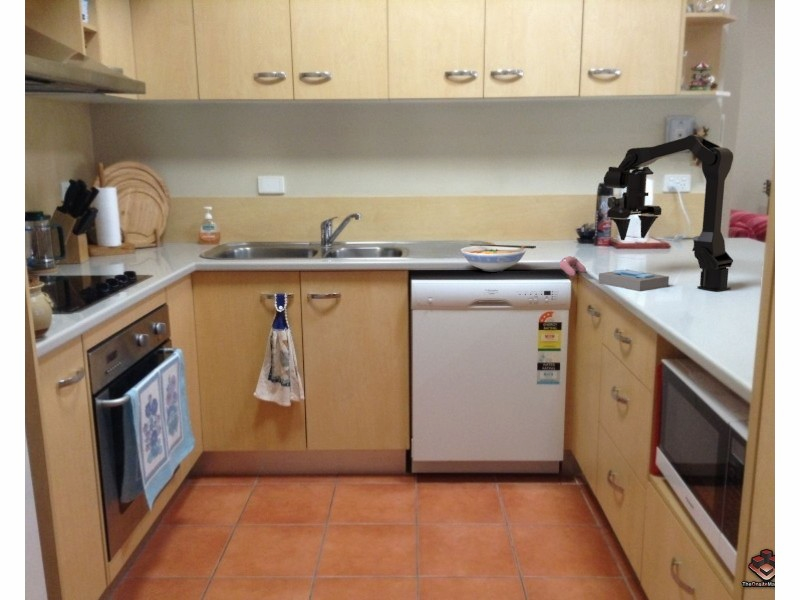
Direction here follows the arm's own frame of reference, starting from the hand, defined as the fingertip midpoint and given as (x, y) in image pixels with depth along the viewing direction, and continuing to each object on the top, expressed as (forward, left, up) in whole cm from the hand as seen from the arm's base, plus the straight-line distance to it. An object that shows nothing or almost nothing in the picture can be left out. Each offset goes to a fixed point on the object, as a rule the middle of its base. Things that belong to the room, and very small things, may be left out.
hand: (632, 239), depth 210 cm
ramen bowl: (+38, +26, -13) cm, 48 cm away
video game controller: (+16, +10, -13) cm, 23 cm away
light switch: (-9, +9, -12) cm, 18 cm away
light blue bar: (-9, +9, -12) cm, 18 cm away
